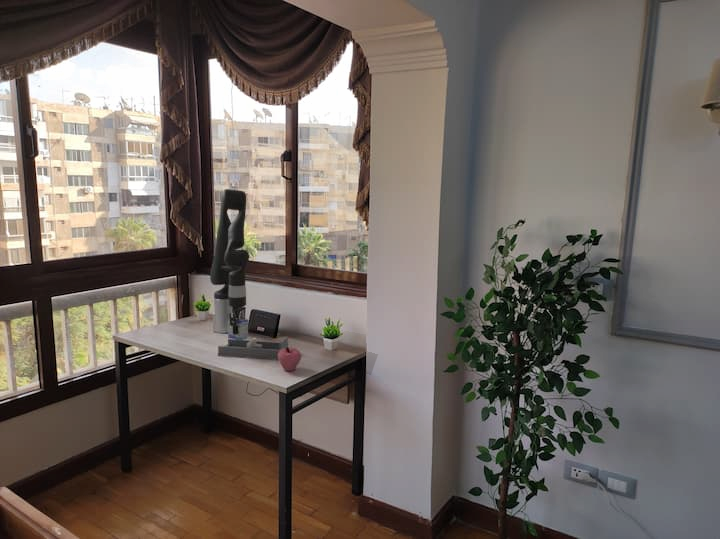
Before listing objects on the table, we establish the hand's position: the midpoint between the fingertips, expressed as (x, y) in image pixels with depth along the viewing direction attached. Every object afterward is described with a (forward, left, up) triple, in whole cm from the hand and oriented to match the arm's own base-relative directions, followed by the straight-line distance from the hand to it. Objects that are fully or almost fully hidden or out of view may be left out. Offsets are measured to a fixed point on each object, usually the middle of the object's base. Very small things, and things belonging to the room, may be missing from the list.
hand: (238, 332), depth 234 cm
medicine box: (0, 0, -3) cm, 3 cm away
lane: (+7, 0, -9) cm, 12 cm away
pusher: (+8, 0, -8) cm, 11 cm away
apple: (+28, -18, -9) cm, 35 cm away
